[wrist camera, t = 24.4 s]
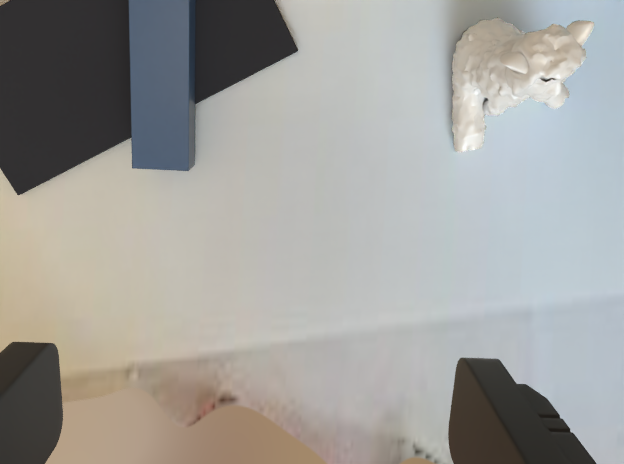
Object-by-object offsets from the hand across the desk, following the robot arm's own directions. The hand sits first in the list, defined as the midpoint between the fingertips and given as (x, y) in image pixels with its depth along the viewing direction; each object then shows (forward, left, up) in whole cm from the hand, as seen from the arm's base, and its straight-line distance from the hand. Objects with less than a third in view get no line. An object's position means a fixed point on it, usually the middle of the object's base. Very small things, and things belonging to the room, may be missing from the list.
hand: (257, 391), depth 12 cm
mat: (+12, -7, -35) cm, 38 cm away
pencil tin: (+8, -7, -35) cm, 36 cm away
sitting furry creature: (-16, -7, -35) cm, 39 cm away
